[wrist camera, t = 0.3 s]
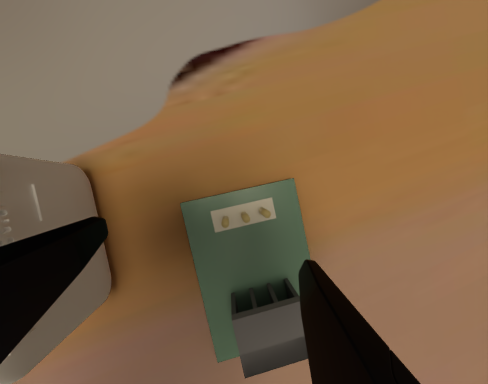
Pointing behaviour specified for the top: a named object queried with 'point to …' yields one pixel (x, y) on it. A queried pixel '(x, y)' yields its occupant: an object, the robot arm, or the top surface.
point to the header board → (244, 252)
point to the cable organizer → (38, 221)
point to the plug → (269, 332)
